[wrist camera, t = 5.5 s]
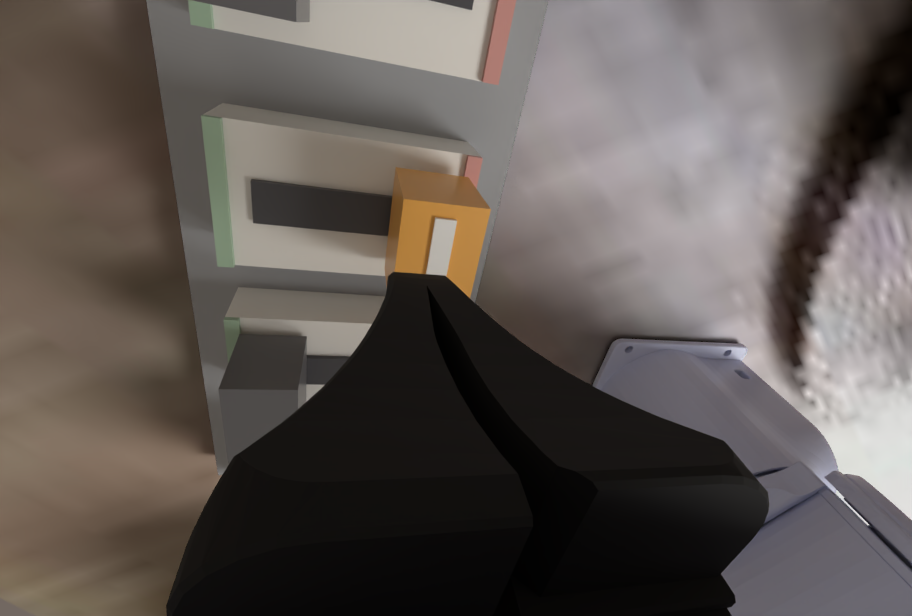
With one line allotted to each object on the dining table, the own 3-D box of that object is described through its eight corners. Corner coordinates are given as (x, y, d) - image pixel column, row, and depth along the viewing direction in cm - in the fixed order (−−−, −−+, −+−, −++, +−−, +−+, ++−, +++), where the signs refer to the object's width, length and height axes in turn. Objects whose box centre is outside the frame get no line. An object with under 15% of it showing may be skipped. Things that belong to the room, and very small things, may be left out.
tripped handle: (468, 177, 14) (491, 210, 12) (449, 273, 16) (466, 319, 14) (395, 167, 14) (404, 199, 11) (384, 267, 16) (389, 315, 13)
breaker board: (556, -83, 14) (677, -148, 9) (432, 450, 28) (450, 556, 22) (131, -217, 11) (-83, -440, 6) (223, 456, 24) (185, 580, 19)
